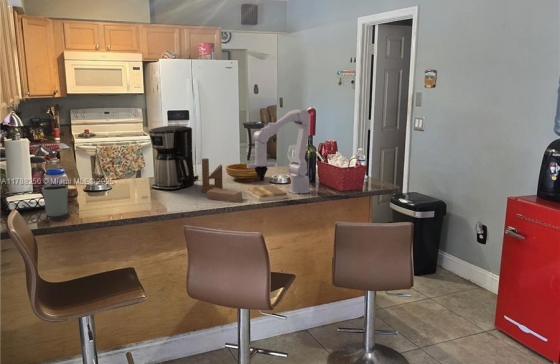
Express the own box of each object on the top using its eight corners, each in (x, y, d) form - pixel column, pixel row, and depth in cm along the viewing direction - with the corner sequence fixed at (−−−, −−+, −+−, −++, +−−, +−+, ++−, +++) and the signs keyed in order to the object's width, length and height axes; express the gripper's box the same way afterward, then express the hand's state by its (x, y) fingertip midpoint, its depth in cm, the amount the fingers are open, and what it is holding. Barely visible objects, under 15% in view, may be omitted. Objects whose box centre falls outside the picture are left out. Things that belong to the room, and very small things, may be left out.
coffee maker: (146, 190, 250) (142, 128, 243) (164, 179, 281) (161, 123, 274) (187, 191, 248) (185, 128, 241) (201, 179, 280) (199, 124, 273)
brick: (243, 199, 233) (243, 190, 232) (235, 202, 226) (235, 193, 225) (214, 196, 240) (214, 187, 239) (206, 199, 232) (206, 190, 231)
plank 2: (268, 192, 240) (268, 190, 239) (274, 196, 232) (274, 193, 231) (253, 193, 237) (253, 191, 236) (259, 197, 229) (259, 195, 228)
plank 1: (261, 188, 248) (261, 186, 248) (267, 192, 240) (267, 190, 240) (247, 190, 245) (247, 187, 245) (253, 193, 237) (253, 191, 237)
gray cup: (39, 216, 200) (36, 189, 197) (54, 210, 210) (51, 184, 207) (60, 217, 198) (58, 190, 196) (74, 211, 208) (72, 185, 206)
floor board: (273, 190, 252) (273, 185, 251) (287, 198, 234) (288, 193, 233) (245, 192, 246) (245, 187, 245) (258, 201, 228) (258, 195, 227)
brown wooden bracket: (222, 191, 249) (222, 158, 246) (203, 192, 245) (202, 159, 241) (220, 189, 253) (220, 157, 249) (201, 191, 248) (200, 158, 245)
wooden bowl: (218, 177, 288) (218, 164, 287) (253, 173, 299) (253, 161, 297) (235, 186, 262) (235, 172, 261) (273, 182, 273) (274, 169, 272)
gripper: (271, 153, 237) (271, 178, 240) (244, 154, 232) (244, 181, 234) (276, 154, 231) (276, 181, 234) (249, 156, 225) (249, 183, 228)
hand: (261, 181), depth 234 cm, fingers closed
